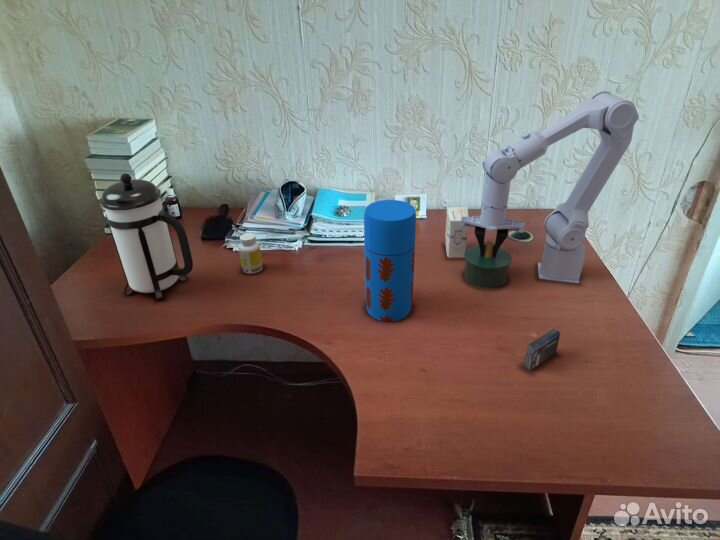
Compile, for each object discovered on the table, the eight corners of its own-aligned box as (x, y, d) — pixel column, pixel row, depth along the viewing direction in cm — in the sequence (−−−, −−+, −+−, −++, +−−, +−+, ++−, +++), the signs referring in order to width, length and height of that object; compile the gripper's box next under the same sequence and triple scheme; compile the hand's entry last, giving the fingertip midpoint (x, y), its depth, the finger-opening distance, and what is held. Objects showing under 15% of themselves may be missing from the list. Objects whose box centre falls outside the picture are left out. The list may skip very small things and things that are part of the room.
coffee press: (125, 311, 116) (85, 192, 101) (125, 278, 129) (89, 168, 113) (200, 294, 122) (173, 179, 106) (193, 264, 134) (168, 157, 119)
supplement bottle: (265, 264, 134) (260, 231, 129) (259, 274, 129) (254, 241, 124) (245, 263, 134) (240, 231, 129) (239, 274, 130) (233, 241, 125)
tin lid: (511, 251, 126) (514, 235, 123) (511, 274, 116) (513, 257, 114) (466, 246, 128) (467, 230, 126) (462, 268, 119) (463, 252, 117)
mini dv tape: (529, 372, 96) (534, 348, 93) (523, 368, 97) (527, 344, 94) (555, 355, 100) (560, 331, 97) (548, 351, 101) (554, 328, 98)
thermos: (409, 324, 110) (413, 223, 97) (361, 319, 112) (359, 219, 99) (414, 297, 119) (418, 200, 106) (370, 292, 121) (369, 197, 108)
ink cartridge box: (443, 244, 141) (447, 196, 133) (461, 244, 141) (465, 196, 133) (447, 259, 134) (450, 209, 126) (465, 259, 133) (470, 209, 126)
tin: (506, 270, 128) (509, 250, 125) (505, 292, 120) (509, 271, 117) (465, 265, 131) (467, 245, 128) (462, 286, 122) (464, 266, 119)
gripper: (461, 208, 113) (456, 259, 120) (527, 213, 110) (518, 266, 117) (464, 196, 119) (459, 245, 126) (527, 201, 115) (518, 251, 122)
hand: (488, 254), depth 122 cm, fingers closed on tin lid, 2 cm apart
